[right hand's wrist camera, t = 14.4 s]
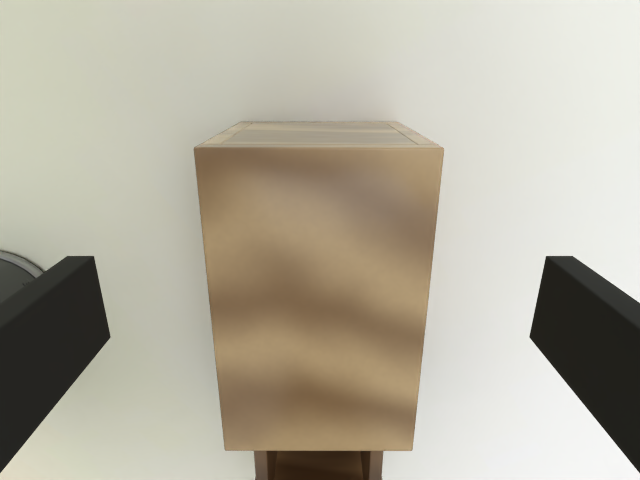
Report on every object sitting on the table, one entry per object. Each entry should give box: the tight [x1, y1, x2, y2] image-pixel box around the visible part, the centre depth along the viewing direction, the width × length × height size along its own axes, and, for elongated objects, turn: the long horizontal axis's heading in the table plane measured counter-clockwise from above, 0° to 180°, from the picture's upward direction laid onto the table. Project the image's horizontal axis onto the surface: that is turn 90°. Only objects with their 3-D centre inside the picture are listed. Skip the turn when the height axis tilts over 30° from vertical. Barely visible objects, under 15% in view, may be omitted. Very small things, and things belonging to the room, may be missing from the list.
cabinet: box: [194, 122, 444, 451], centre depth 26 cm, size 17×11×11 cm, turn 0°
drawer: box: [254, 451, 383, 480], centre depth 31 cm, size 22×10×10 cm, turn 0°
